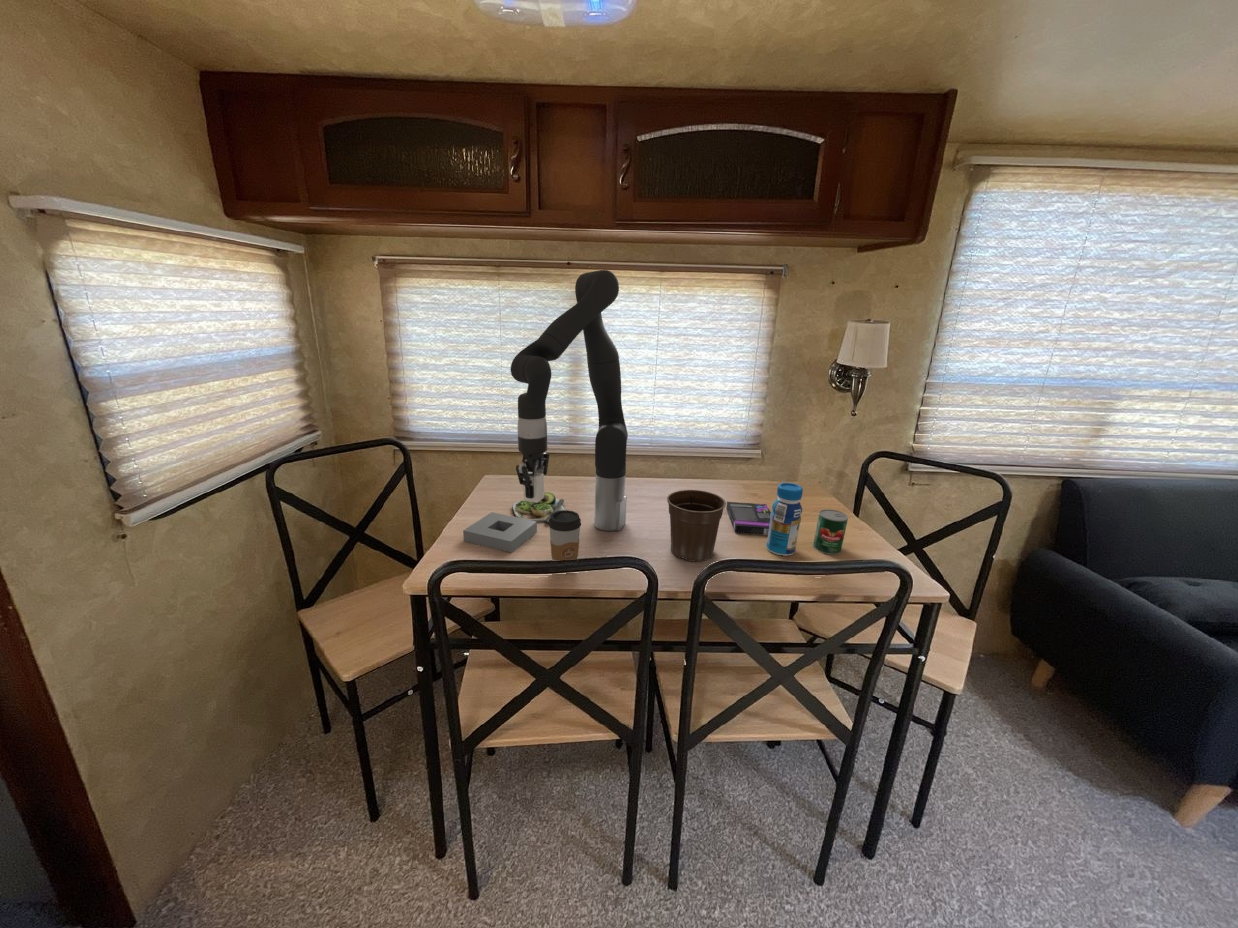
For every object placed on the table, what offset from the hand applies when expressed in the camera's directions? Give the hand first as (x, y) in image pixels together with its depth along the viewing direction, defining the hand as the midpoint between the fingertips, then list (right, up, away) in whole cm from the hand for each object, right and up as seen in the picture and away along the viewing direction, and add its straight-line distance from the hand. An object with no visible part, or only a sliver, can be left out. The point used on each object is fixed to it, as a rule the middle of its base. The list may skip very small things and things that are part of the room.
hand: (534, 494), depth 131 cm
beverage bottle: (+70, -17, +11) cm, 73 cm away
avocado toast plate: (-4, -8, +31) cm, 32 cm away
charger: (0, -1, 0) cm, 1 cm away
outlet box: (-12, -13, +12) cm, 22 cm away
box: (+67, -11, +30) cm, 74 cm away
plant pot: (+44, -17, +8) cm, 48 cm away
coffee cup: (+9, -19, -3) cm, 21 cm away
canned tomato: (+85, -17, +13) cm, 88 cm away
